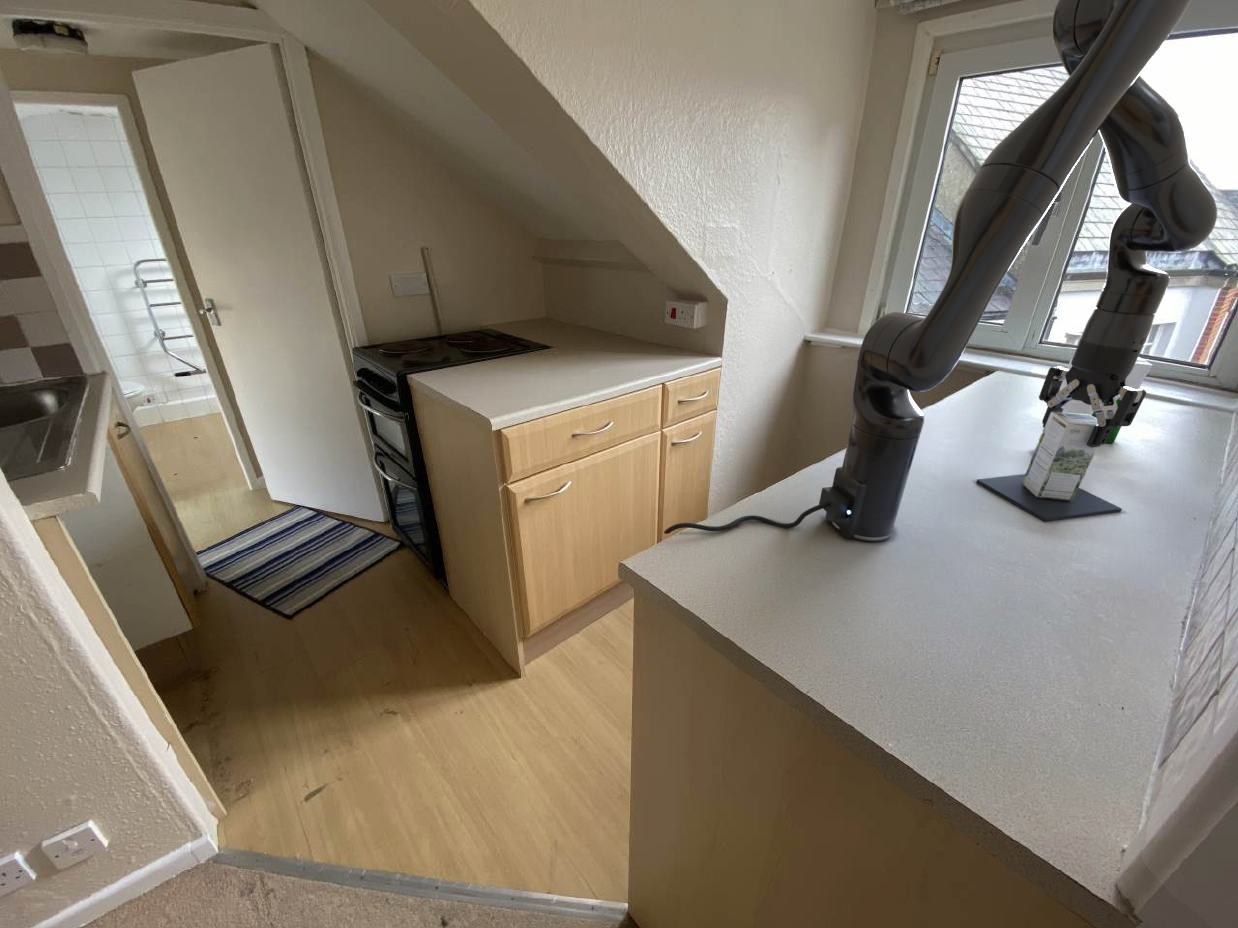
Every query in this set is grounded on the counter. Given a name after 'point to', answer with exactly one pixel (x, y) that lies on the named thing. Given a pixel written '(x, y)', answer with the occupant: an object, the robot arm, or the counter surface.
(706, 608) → the counter surface
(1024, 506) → the mat
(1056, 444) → the syrup box
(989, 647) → the counter surface
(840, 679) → the counter surface
